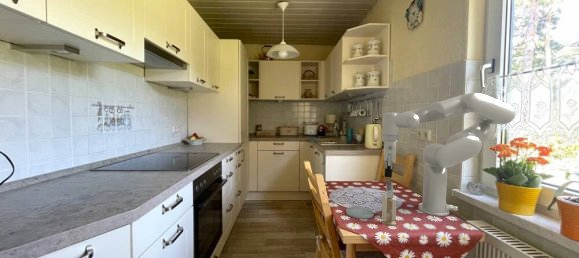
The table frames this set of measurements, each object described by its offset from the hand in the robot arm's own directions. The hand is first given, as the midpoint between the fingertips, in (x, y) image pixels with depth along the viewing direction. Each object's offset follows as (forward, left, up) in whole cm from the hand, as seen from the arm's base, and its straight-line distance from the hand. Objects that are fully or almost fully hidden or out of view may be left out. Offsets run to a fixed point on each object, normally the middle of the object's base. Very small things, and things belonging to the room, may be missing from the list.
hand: (388, 176), depth 125 cm
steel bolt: (0, +13, -4) cm, 14 cm away
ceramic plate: (+12, +13, -15) cm, 23 cm away
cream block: (0, +13, -15) cm, 20 cm away
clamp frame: (0, +13, -15) cm, 20 cm away
